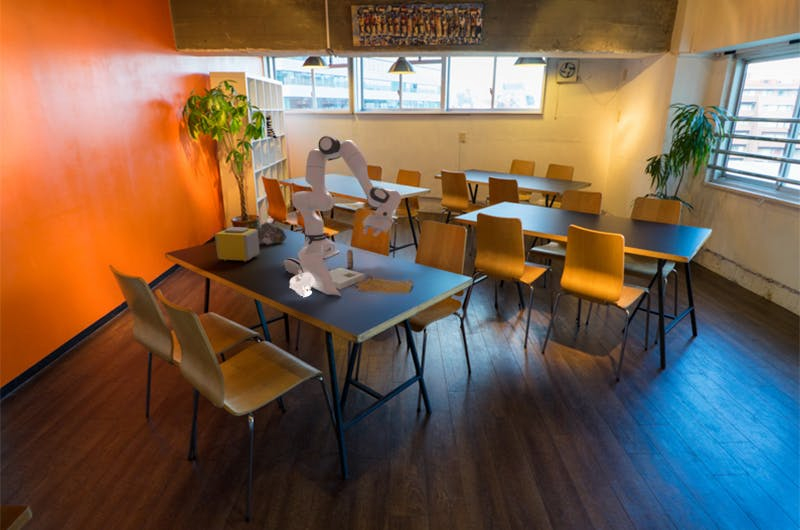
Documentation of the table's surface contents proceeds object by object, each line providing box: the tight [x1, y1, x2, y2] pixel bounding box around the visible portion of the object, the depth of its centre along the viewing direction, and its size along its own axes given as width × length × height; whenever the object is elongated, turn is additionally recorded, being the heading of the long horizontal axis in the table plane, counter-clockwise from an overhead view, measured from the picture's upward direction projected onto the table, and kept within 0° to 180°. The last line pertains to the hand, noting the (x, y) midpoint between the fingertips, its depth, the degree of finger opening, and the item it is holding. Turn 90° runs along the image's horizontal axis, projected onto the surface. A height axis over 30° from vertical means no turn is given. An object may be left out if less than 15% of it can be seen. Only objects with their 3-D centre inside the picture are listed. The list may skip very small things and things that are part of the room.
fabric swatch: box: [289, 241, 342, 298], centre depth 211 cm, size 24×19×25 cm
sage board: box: [328, 267, 366, 290], centre depth 234 cm, size 18×18×3 cm
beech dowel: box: [346, 249, 354, 269], centre depth 253 cm, size 3×3×11 cm
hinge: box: [282, 257, 304, 276], centre depth 243 cm, size 17×5×10 cm, turn 45°
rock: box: [257, 221, 287, 246], centre depth 304 cm, size 18×14×15 cm
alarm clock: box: [214, 226, 261, 263], centre depth 267 cm, size 20×16×18 cm
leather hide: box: [354, 274, 414, 295], centre depth 223 cm, size 29×26×5 cm
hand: (369, 234), depth 258 cm, fingers open, 8 cm apart
